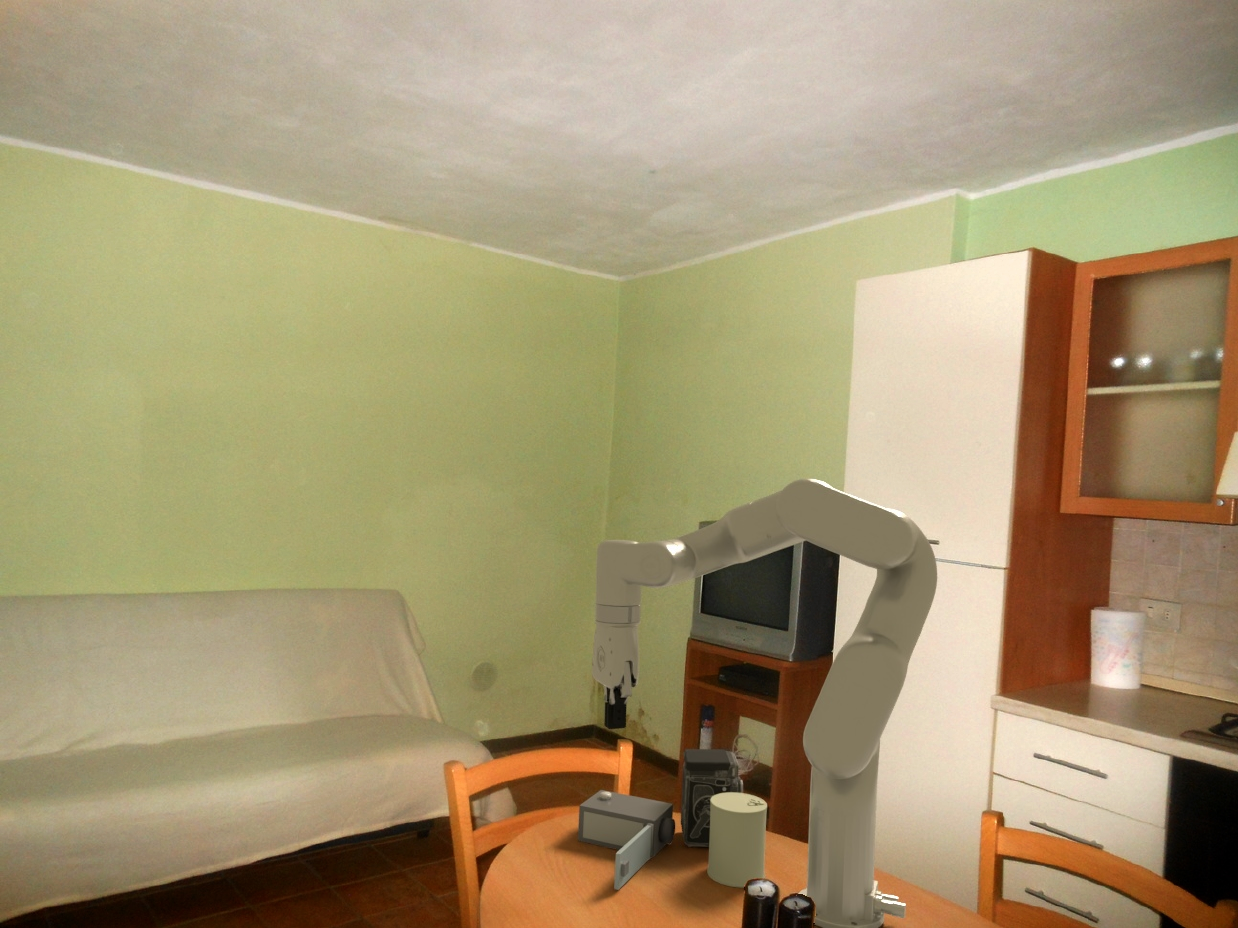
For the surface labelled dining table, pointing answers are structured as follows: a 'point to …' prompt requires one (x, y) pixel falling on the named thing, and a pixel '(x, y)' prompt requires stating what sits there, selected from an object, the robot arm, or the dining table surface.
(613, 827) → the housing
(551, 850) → the dining table surface
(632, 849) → the side door
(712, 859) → the can
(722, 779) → the camera
